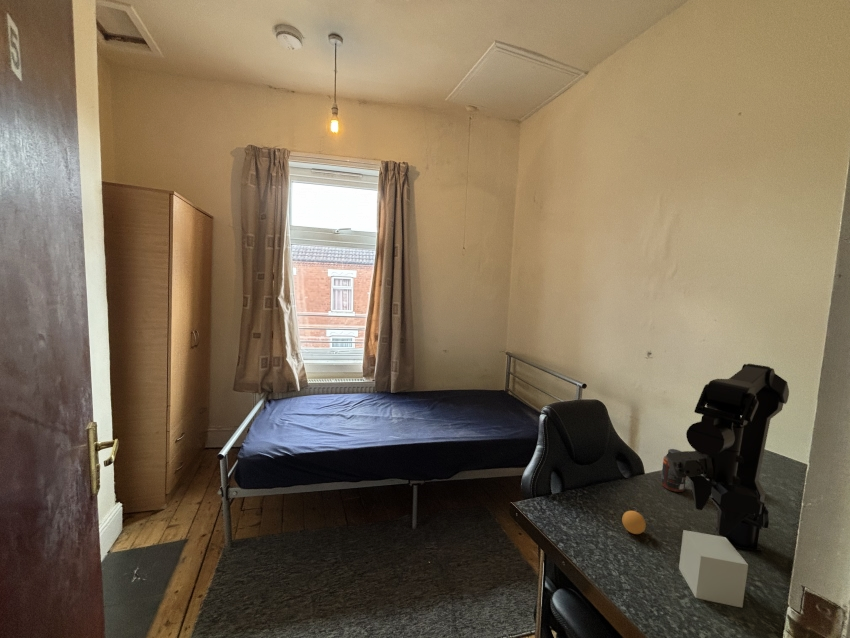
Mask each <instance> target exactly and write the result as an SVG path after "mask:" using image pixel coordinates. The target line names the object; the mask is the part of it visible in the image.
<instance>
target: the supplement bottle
mask: <svg viewBox="0 0 850 638" xmlns="http://www.w3.org/2000/svg"><path fill="white" fill-rule="evenodd" d="M676 452H683V451H681V450H679V449H674V448H669V449H668V451H667V454H669V453H676ZM667 454H666V455H665V456H664V457H663V461H662V469H661V470H662V471H661V480H660V484H661V486H662V487H664V488H665V489H666V490H668V491H670V492H674V493H675V492H676V493H682V492H684V491H685V488H686V481H687V480H686V479H687V477H685V478H679V477H677V476H675V474H674V473H673V472H672V471H671V470H670V467H669V463H668V459H667Z"/></svg>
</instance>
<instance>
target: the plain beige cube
mask: <svg viewBox="0 0 850 638" xmlns="http://www.w3.org/2000/svg"><path fill="white" fill-rule="evenodd" d="M682 531H683V532H682V537H681V538H682V539H681V548H680V556H679V565H678V569H679V572H680V573H681V574H682V576H683V578H684V580H685V581H686V583H687V585H688V587H689V588H690V591H691V592H692V594H693V595H694V597H695V599H699V600H704V601H708V602H713V603H718V604H722V605H723V604H724V605H727V606H728V605H729V606H733V607H737V608H743V606H744V598H745V591H746V584H747V577H748V569H749V564H748V562H746V560H745V558H743V556H742V555H741V554H740V553H739V552H738V550H736V549H737V548H736V547H733V546H732V544H731V543H730V542H729V541H728V540H727V538H726V537H722V536H721V535H716V534H715V535H714V534H709V533H703V532H698V531H693V530H691V531H690V530H685V529H683V530H682Z"/></svg>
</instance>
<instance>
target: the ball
mask: <svg viewBox="0 0 850 638" xmlns="http://www.w3.org/2000/svg"><path fill="white" fill-rule="evenodd" d="M621 521H622V522H621V523H622V524H623V527H624V528H625V530H627V531H628V532H629V533H631V534H632V535H633V534H634V535H639V534H642V533H643V532H644V531H645V529H646V526H647V525H646V520H645V518H644V517H643V515H642V514H640V513H639V512H638V511H635V510H628V511H625V512H624V513H623V515H622V519H621Z"/></svg>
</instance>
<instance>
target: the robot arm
mask: <svg viewBox="0 0 850 638" xmlns="http://www.w3.org/2000/svg"><path fill="white" fill-rule="evenodd" d="M789 396H790V390H789V384H788V382H787V380H786V379H784V378H783V377H781V376H780V375H778V374H777V373H775V369H774V368H771V367H770V366H768V365H761V364H760V365H759V364H756V363H755V364H754V363H743V365H742V367H741V368H740V370H738V372H736V373H735V374H733V375H732V376H731V377H729V378H716V379H715V378H714V379H711V380H710V381H709V382H708V383H706V384H705V385H704V386H703V388H702V392H701V393H700V396H699V398H698V401H697V403H696V405H695V408H694V411H693V412H694V413H695V414H698V415H702V416H701V419H700V421H697V422H694V423H693V424H691V425H689V427H688V428H687V430H686V433H685V435H686V440H687V442H688V444H689V446H690V447H691V448H692V449H693V451H691V450H686V451H685V450H684V451H682V452H676V453H669V454H668V453H666V455H667V459H668V463H669V467H670V470H671V471H672V472H673V473H674V474H675V476H677V477H679V478H685V477H686V478H689V480H690V485H691V491H692V496H693V500H694V506H695V509H696V510H698V511H702V510H704V508H705V506H706V505H707V503H708V501H709V499H710V500H711V501H712V502H713V504H714V505H715V506H716V511H717V513H716V517H717V523H716V524H717V525H716V528H715V529H716V532H717V534H718V536H721V537H726V538H727V540H728V541H729V542H730V543H731V544H732V546H733V547H734V548H735V549H743V550H746V551H747V550H748V551H752V552H753V551H754V552H758V553H759V552H760V553H762V552H763V549H762V548H761V547H760V545H759V539H760V531H761V530H762V529H769V527H770V521H771V520H770V512H769V509H768V504H767V503H766V502H765V499H766V492H765V491H764V488H763V487H762V485H761V483H760V481H759V480H760V475H761V468H762V463H763V460H764V454H765V449H766V445H767V444H766V442H767V438H768V433H769V429H770V423H771V419H772V418H774V417H776V416H777V415H778V414H779V413H780V412H782V411H783V406H784V405H786V404H787V403H788V399H789Z"/></svg>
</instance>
